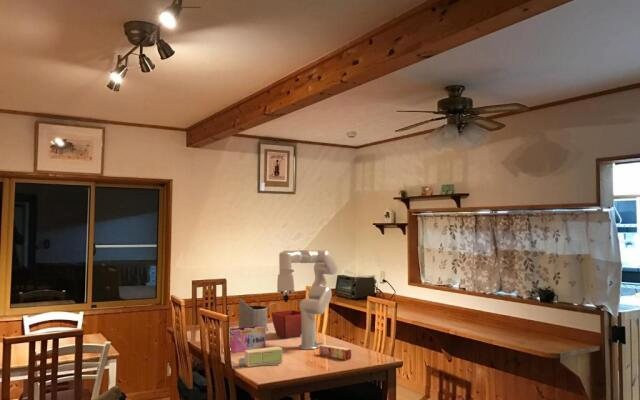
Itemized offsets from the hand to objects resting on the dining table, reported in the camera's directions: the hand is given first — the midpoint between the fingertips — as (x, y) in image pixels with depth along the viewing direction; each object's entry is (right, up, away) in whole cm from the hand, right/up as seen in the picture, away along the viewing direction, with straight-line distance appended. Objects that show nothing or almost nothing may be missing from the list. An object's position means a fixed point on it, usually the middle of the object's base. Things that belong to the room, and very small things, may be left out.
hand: (285, 301), depth 319 cm
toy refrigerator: (-2, -28, -17) cm, 33 cm away
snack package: (+30, -33, -6) cm, 45 cm away
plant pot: (-1, -36, +53) cm, 63 cm away
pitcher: (-26, -37, +74) cm, 87 cm away
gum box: (-26, -34, +14) cm, 45 cm away
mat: (-15, -32, -18) cm, 39 cm away
